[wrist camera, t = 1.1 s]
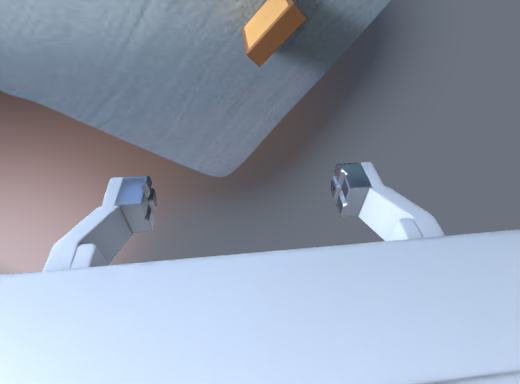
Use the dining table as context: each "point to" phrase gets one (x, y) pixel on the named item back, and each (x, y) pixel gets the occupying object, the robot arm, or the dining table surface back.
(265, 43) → the toast
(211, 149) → the dining table surface
